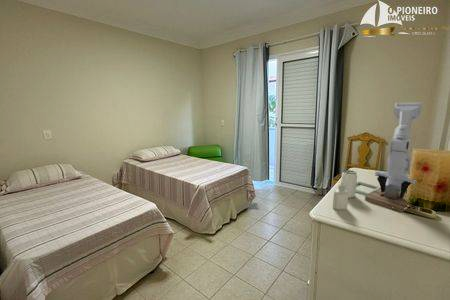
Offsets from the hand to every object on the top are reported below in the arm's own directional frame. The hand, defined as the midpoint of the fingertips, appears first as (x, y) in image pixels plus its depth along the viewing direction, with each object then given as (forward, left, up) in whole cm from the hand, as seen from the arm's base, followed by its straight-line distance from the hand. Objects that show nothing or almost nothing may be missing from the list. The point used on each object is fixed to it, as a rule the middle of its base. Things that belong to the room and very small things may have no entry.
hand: (391, 194), depth 95 cm
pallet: (0, 0, -3) cm, 3 cm away
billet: (0, 0, -3) cm, 3 cm away
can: (+10, -14, -3) cm, 18 cm away
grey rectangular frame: (-4, -14, -3) cm, 14 cm away
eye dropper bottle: (+26, -10, -3) cm, 28 cm away
